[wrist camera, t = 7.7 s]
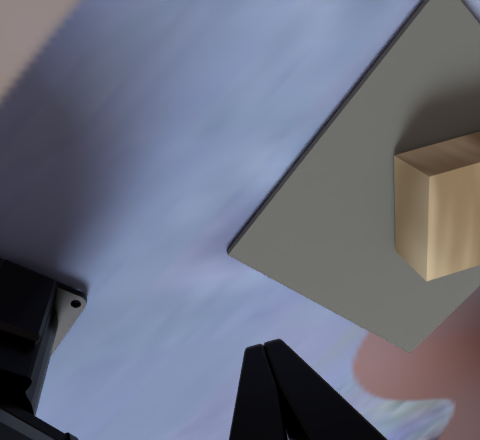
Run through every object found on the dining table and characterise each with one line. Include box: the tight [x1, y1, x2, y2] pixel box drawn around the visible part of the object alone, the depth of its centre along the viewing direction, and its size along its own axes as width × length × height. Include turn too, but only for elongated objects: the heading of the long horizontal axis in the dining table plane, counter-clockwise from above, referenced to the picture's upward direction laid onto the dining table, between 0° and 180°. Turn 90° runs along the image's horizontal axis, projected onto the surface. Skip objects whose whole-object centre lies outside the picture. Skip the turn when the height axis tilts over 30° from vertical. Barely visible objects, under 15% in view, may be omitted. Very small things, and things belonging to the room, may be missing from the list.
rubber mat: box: [227, 0, 480, 353], centre depth 24 cm, size 16×16×1 cm
